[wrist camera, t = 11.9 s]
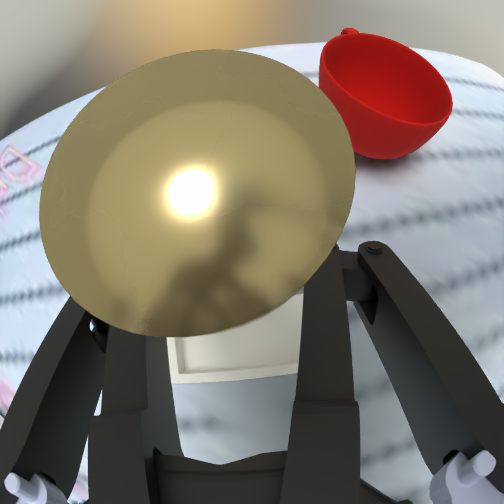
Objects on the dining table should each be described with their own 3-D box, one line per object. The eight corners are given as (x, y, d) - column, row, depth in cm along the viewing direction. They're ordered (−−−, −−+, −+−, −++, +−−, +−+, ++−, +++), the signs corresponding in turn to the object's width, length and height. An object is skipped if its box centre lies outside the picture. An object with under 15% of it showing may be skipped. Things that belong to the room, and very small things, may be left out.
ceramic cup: (378, 75, 32) (397, 21, 23) (430, 178, 28) (475, 128, 18) (288, 76, 32) (292, 13, 23) (327, 189, 28) (352, 127, 18)
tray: (311, 214, 27) (316, 201, 24) (334, 361, 24) (343, 365, 21) (169, 232, 28) (158, 221, 25) (180, 378, 24) (170, 383, 21)
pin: (278, 252, 24) (308, 40, 5) (288, 326, 22) (392, 307, 4) (205, 261, 24) (71, 87, 6) (212, 334, 22) (32, 339, 4)
